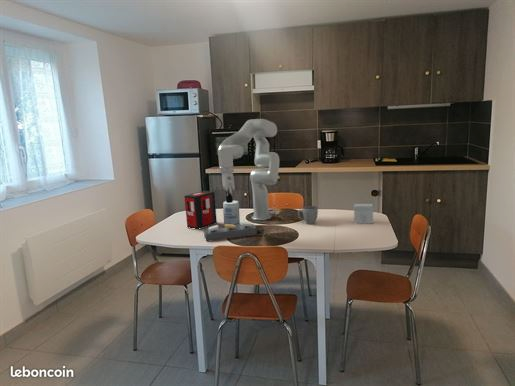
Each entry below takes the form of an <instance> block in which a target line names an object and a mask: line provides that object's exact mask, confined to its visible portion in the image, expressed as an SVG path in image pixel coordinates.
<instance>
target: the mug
mask: <svg viewBox="0 0 515 386" xmlns="http://www.w3.org/2000/svg"><path fill="white" fill-rule="evenodd" d="M318 209H319V208H318V206H315V205H305V206H303V207H302V209H299V210H298V211H297V216H298V218H299V219H300V220H301V221H304V222H305V224H306V225H309V226H310V225H311V226H312V225H315V224H316V221H317V219H318V211H319V210H318ZM300 213H302V215H303V217H301V216H302V215H301V214H300Z"/></svg>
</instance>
